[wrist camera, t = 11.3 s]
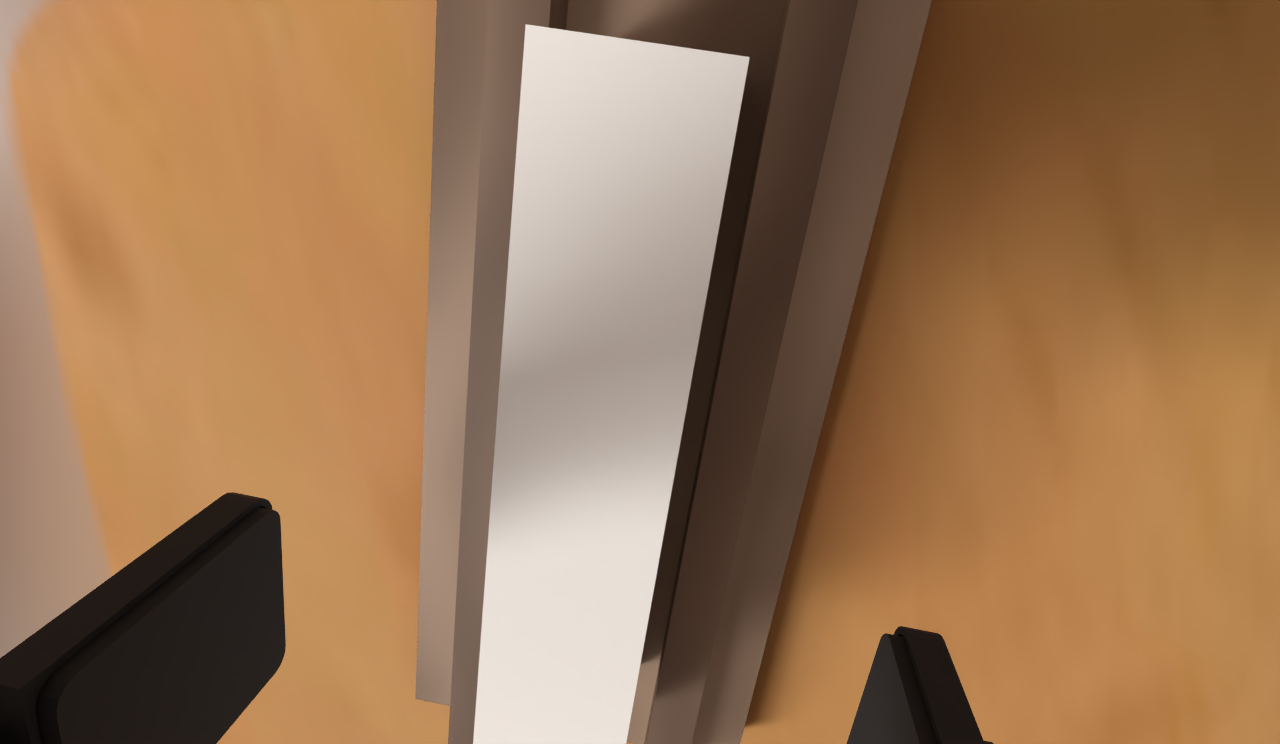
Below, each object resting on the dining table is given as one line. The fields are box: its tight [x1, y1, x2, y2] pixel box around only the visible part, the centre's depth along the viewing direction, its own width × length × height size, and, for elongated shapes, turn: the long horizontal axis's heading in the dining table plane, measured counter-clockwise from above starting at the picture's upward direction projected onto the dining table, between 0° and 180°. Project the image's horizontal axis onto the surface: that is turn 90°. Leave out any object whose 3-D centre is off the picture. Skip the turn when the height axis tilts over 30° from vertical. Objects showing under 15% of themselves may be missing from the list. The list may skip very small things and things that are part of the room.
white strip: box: [473, 24, 750, 744], centre depth 15 cm, size 3×16×6 cm, turn 172°
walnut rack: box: [416, 0, 932, 744], centre depth 18 cm, size 10×22×2 cm, turn 172°
